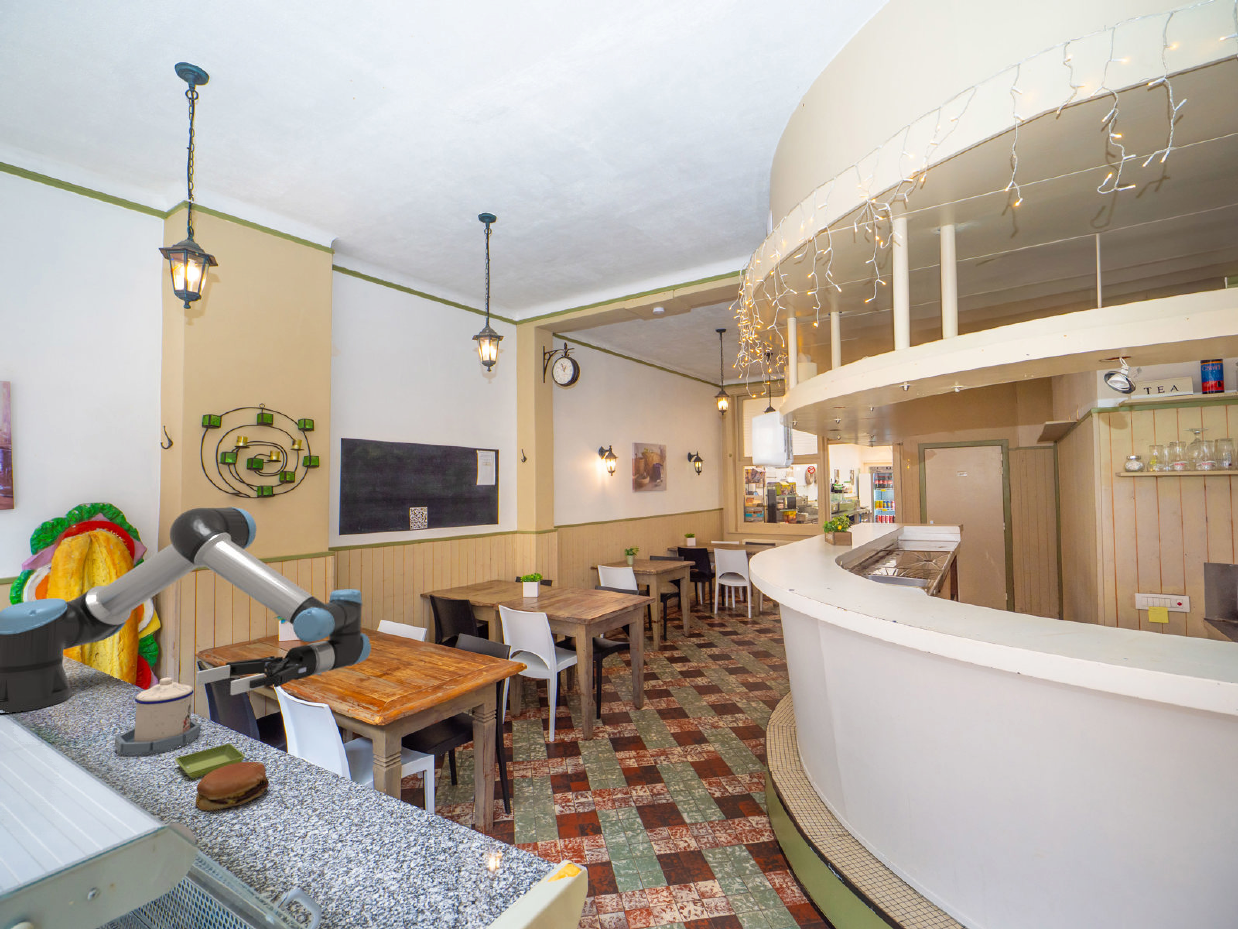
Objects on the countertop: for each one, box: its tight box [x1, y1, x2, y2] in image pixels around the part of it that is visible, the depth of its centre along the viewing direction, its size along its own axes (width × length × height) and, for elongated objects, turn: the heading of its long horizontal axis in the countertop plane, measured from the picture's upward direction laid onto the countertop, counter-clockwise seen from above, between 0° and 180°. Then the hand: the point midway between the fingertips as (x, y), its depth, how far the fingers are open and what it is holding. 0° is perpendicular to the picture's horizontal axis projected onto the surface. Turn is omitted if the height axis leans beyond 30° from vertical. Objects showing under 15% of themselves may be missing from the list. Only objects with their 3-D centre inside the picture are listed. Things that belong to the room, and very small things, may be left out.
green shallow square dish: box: [174, 743, 246, 780], centre depth 105 cm, size 9×9×2 cm
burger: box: [195, 761, 270, 812], centre depth 94 cm, size 10×9×5 cm
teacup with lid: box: [134, 677, 194, 742], centre depth 116 cm, size 12×9×12 cm
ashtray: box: [114, 718, 202, 757], centre depth 116 cm, size 13×13×2 cm
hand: (213, 683), depth 124 cm, fingers open, 13 cm apart
